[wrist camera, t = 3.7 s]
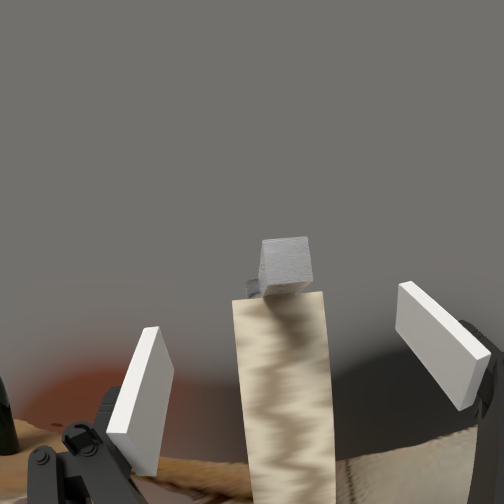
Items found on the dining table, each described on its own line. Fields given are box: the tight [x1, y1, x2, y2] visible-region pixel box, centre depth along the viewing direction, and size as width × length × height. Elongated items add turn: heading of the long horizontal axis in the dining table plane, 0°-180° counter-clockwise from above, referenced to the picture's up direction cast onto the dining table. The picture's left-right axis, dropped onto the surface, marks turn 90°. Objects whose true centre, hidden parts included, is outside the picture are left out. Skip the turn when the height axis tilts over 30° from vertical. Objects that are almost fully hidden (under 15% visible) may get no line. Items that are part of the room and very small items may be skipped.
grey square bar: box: [245, 236, 313, 299], centre depth 33 cm, size 6×25×5 cm, turn 0°
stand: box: [232, 291, 336, 504], centre depth 36 cm, size 9×16×34 cm, turn 0°
